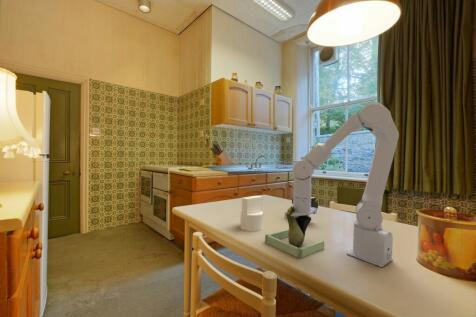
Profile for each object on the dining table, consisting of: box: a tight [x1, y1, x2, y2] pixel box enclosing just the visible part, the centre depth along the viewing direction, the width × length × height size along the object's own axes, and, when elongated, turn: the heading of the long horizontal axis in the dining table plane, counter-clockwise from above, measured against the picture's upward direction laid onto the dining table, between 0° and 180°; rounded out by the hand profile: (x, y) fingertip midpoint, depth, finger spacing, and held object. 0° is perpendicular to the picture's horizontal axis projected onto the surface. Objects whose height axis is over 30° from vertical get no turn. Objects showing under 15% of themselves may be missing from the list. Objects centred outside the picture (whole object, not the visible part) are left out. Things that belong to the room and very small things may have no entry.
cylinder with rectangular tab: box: [239, 195, 264, 232], centre depth 88 cm, size 9×9×12 cm
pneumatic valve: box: [291, 196, 319, 217], centre depth 99 cm, size 6×12×12 cm, turn 29°
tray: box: [264, 228, 325, 259], centre depth 71 cm, size 14×12×2 cm
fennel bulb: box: [286, 205, 305, 247], centre depth 70 cm, size 6×5×12 cm
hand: (300, 237), depth 74 cm, fingers closed, pressing on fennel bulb
